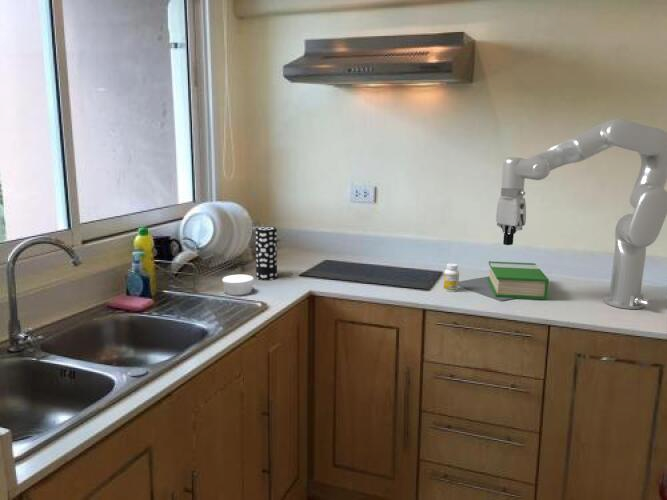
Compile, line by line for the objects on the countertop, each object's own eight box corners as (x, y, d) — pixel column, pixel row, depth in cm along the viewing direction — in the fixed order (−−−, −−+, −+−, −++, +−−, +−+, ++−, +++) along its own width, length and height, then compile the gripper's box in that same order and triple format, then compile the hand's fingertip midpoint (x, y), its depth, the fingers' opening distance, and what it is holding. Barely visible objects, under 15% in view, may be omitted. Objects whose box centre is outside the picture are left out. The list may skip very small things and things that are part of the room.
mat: (547, 292, 212) (547, 291, 212) (501, 301, 200) (501, 300, 200) (495, 275, 234) (495, 275, 234) (451, 283, 222) (451, 282, 222)
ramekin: (216, 294, 205) (216, 280, 204) (233, 286, 215) (232, 272, 214) (243, 298, 201) (243, 283, 200) (259, 289, 211) (259, 276, 210)
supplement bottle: (448, 286, 217) (450, 262, 215) (460, 289, 213) (462, 264, 211) (440, 289, 213) (442, 264, 211) (452, 292, 210) (454, 267, 208)
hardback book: (497, 277, 202) (488, 261, 226) (495, 297, 204) (487, 279, 227) (548, 279, 200) (534, 263, 223) (546, 299, 202) (533, 281, 225)
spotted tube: (280, 278, 226) (280, 229, 222) (262, 281, 221) (261, 231, 217) (271, 273, 233) (270, 225, 228) (252, 276, 228) (251, 227, 224)
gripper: (536, 195, 194) (531, 247, 198) (503, 190, 207) (499, 239, 211) (521, 196, 190) (516, 249, 194) (488, 191, 203) (485, 241, 207)
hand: (508, 244), depth 203 cm, fingers closed
